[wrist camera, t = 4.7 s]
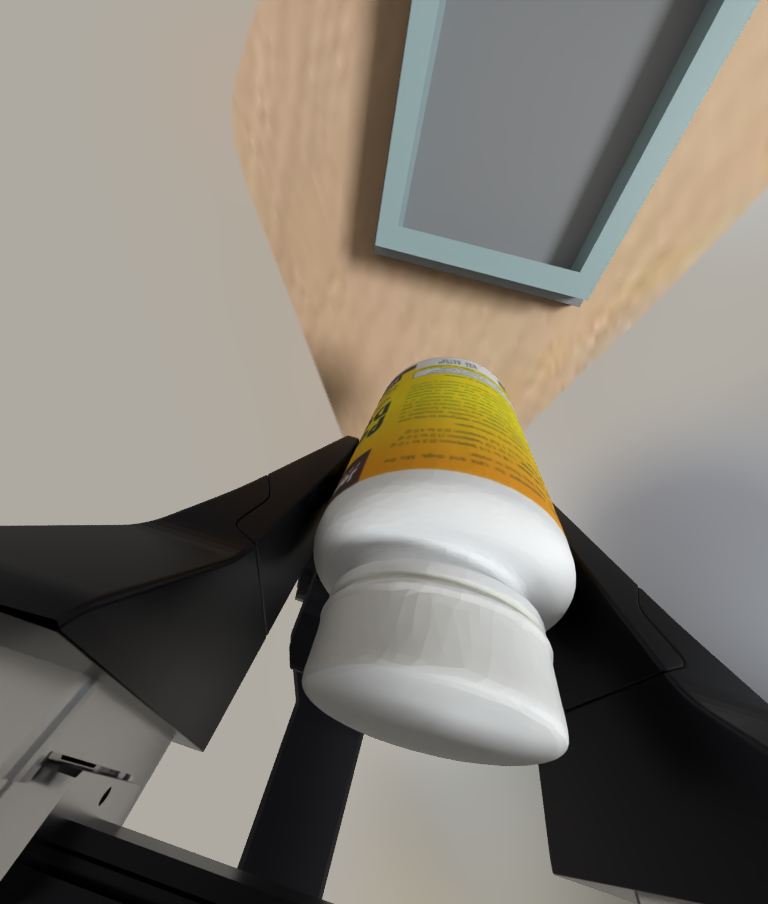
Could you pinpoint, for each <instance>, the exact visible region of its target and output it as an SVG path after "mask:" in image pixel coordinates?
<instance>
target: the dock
mask: <svg viewBox="0 0 768 904" xmlns="http://www.w3.org/2000/svg"><path fill="white" fill-rule="evenodd" d="M758 2H759V0H411V3H410V9H409V16H408V23H407V30H406V36H405V43H404V50H403V56H402V63H401V70H400V76H399V83H398V90H397V96H396V103H395V110H394V116H393V123H392V130H391V136H390V143H389V150H388V156H387V163H386V170H385V177H384V183H383V190H382V197H381V203H380V210H379V217H378V223H377V230H376V237H375V243H374V250H373V253H374V254H378V255H382V256H386V257H390V258H394V259H397V260H401V261H405V262H409V263H413V264H417V265H420V266H424V267H428V268H432V269H436V270H439V271H443V272H447V273H451V274H455V275H459V276H462V277H466V278H470V279H474V280H478V281H481V282H485V283H489V284H493V285H497V286H501V287H504V288H508V289H512V290H516V291H520V292H523V293H527V294H531V295H535V296H539V297H543V298H546V299H550V300H554V301H558V302H562V303H566V304H569V305H573V306H577V307H580V305H581V303H582V301H583V300H588V298H589V297H590V295H591V293H592V291H593V290H594V288H595V286H596V284H597V283H598V281H599V279H600V277H601V276H602V274H603V272H604V271H605V269H606V267H607V265H608V264H609V262H610V260H611V258H612V257H613V255H614V253H615V251H616V250H617V248H618V246H619V244H620V243H621V241H622V239H623V237H624V236H625V234H626V232H627V230H628V229H629V227H630V225H631V223H632V222H633V220H634V218H635V216H636V215H637V213H638V211H639V210H640V208H641V206H642V204H643V203H644V201H645V199H646V197H647V196H648V194H649V192H650V190H651V189H652V187H653V185H654V183H655V182H656V180H657V178H658V176H659V175H660V173H661V171H662V169H663V168H664V166H665V164H666V162H667V161H668V159H669V157H670V156H671V154H672V152H673V150H674V149H675V147H676V145H677V143H678V142H679V140H680V138H681V136H682V135H683V133H684V131H685V129H686V128H687V126H688V124H689V122H690V121H691V119H692V117H693V115H694V114H695V112H696V110H697V108H698V107H699V105H700V103H701V102H702V100H703V98H704V96H705V95H706V93H707V91H708V89H709V88H710V86H711V84H712V82H713V81H714V79H715V77H716V75H717V74H718V72H719V70H720V68H721V67H722V65H723V63H724V61H725V60H726V58H727V56H728V54H729V53H730V51H731V49H732V47H733V46H734V44H735V42H736V41H737V39H738V37H739V35H740V34H741V32H742V30H743V28H744V27H745V25H746V23H747V21H748V20H749V18H750V16H751V14H752V13H753V11H754V9H755V7H756V6H757V4H758Z"/></svg>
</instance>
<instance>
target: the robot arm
mask: <svg viewBox="0 0 768 904" xmlns="http://www.w3.org/2000/svg"><path fill="white" fill-rule="evenodd" d="M358 444H359V439H358V438H355V437H352V436H345V437H343V438H341V439H339V440H338V441H335V442H333V443H331V444H329V445H327V446H325V447H323V448H321V449H319V450H317V451H315V452H313V453H311V454H309V455H307V456H305V457H303V458H300V459H298V460H296V461H294V462H292V463H290V464H288V465H286V466H284V467H282V468H280V469H278V470H276V471H274V472H272V473H270V474H269V475H268V476H267V475H265V476H263V477H261V478H259V479H257V480H255V481H253V482H251V483H249V484H246V485H244V486H242V487H240V488H238V489H235V490H233V491H231V492H228V493H225V494H223V495H220V496H218V497H215V498H213V499H210V500H207V501H205V502H202V503H200V504H197V505H195V506H192V507H189V508H187V509H184V510H181V511H179V512H176V513H174V514H171V515H168V516H166V517H163V518H160V519H157V520H153V521H149V522H145V523H139V524H131V525H54V526H53V525H52V526H49V525H48V526H0V904H333V903H330V902H327V901H324V900H322V896H323V893H324V889H325V885H326V880H327V877H328V873H329V869H330V865H331V861H332V857H333V853H334V849H335V845H336V841H337V837H338V833H339V829H340V825H341V822H342V818H343V814H344V810H345V805H346V802H347V798H348V794H349V790H350V786H351V782H352V778H353V774H354V770H355V766H356V762H357V758H358V754H359V750H360V746H361V742H362V739H363V735H364V733H361V732H359V731H357V730H355V729H352V728H350V727H348V726H346V725H344V724H342V723H341V722H339V721H337V720H335V719H334V718H332V717H330V716H329V715H327V714H326V713H324V712H323V711H322V710H320V709H319V708H318V707H317V706H316V705H315V704H314V703H313V702H311V701H310V699H309V698H308V697H307V695H306V694H305V692H304V689H303V687H302V677H303V673H304V669H305V666H306V663H307V660H308V657H309V654H310V651H311V648H312V645H313V642H314V640H315V637H316V634H317V631H318V627H319V624H320V614H321V611H322V609H323V606H324V605H325V603H326V602H327V600H328V599H329V596H330V594H329V593H328V592H327V590H326V589H325V587H324V586H323V584H322V582H321V580H320V578H319V576H318V573H317V570H316V567H315V562H314V553H313V548H314V538H315V534H316V531H317V528H318V525H319V523H320V520H321V518H322V516H323V514H324V511H325V509H326V507H327V505H328V503H329V501H330V499H331V497H332V495H333V494H334V492H335V490H336V488H337V486H338V483H339V481H340V479H341V477H342V476H343V474H344V472H345V470H346V468H347V466H348V464H349V462H350V460H351V458H352V456H353V454H354V452H355V450H356V448H357V446H358ZM552 504H553V503H552ZM553 506H554V509H555V512H556V514H557V517H558V519H559V521H560V523H561V526H562V528H563V531H564V534H565V536H566V539H567V541H568V545H569V548H570V551H571V554H572V557H573V560H574V565H575V571H576V588H575V592H574V596H573V599H572V601H571V604H570V605H569V607H568V609H567V611H566V612H565V614H564V615H563V617H562V618H561V619H560V620H559V621H558V622H557V623H556V624H555V625H554V626H552V627H551V628H550V629H549V630H547V631H546V637H547V638H548V640H549V642H550V644H551V647H552V650H553V668H554V672H555V677H556V681H557V686H558V690H559V694H560V699H561V703H562V707H563V711H564V715H565V719H566V723H567V728H568V735H569V745H568V749H567V751H566V752H565V753H564V754H563V755H562V756H560V757H559V758H558V759H555V760H552V761H550V762H547V763H542V764H538V765H539V773H540V781H541V789H542V797H543V805H544V813H545V821H546V829H547V837H548V845H549V853H550V860H551V865H552V871H553V874H554V875H557V876H559V877H562V878H565V879H568V880H571V881H574V882H577V883H580V884H582V885H585V886H588V887H591V888H594V889H597V890H599V891H602V892H605V893H608V894H611V895H614V896H617V897H620V898H622V899H625V900H628V901H631V902H634V903H637V904H768V703H766V702H765V701H764V700H763V699H762V698H761V697H760V696H759V695H757V694H756V693H755V692H754V691H753V690H752V689H751V688H750V687H748V686H747V685H746V684H745V683H744V682H743V681H742V680H740V679H739V678H738V677H737V676H736V675H735V674H733V672H732V671H730V670H729V669H728V668H727V667H726V666H725V665H724V664H723V663H721V662H720V661H719V660H718V659H717V658H715V656H713V655H712V654H711V653H710V652H709V651H708V650H707V649H706V648H705V647H703V646H702V645H701V644H700V643H699V642H698V641H697V640H695V639H694V638H693V637H692V636H691V635H690V634H689V633H688V632H687V631H686V630H684V629H683V628H682V627H681V626H680V625H679V624H678V623H677V622H676V621H675V620H673V619H672V618H671V617H670V616H669V615H668V614H667V613H666V612H665V611H664V610H663V609H662V608H661V607H660V606H659V605H658V604H657V603H656V602H654V601H653V600H652V599H651V598H650V597H649V596H648V595H647V594H646V593H645V592H644V591H643V590H642V589H640V588H638V585H637V584H636V583H635V582H633V580H632V579H631V578H630V577H629V576H627V574H625V573H624V572H623V571H622V570H621V569H620V568H619V567H618V566H617V565H616V564H615V563H614V562H613V561H612V560H611V559H610V558H609V557H608V556H607V555H606V554H605V553H604V552H603V551H602V550H601V549H600V548H598V546H597V545H595V544H594V543H593V542H592V541H591V540H590V539H589V538H588V537H587V536H586V535H585V534H584V533H583V532H582V531H581V530H580V529H579V528H578V527H577V526H576V525H575V524H574V523H573V522H572V521H571V520H570V519H569V518H568V517H567V516H565V515H564V514H563V513H562V512H561V511H560V510H559V509H558V508H557V507H556V506H555V505H554V504H553ZM297 580H298V584H297V588H298V589H297V593H296V597H295V600H298V601H301V602H303V604H302V607H301V609H300V612H299V615H298V617H297V620H296V622H295V625H294V628H293V630H292V633H291V643H290V647H289V648H290V649H289V650H290V668H291V669H293V672H294V684H295V695H296V703H295V706H294V709H293V712H292V715H291V718H290V720H289V723H288V726H287V729H286V732H285V735H284V737H283V740H282V743H281V746H280V749H279V752H278V754H277V757H276V760H275V763H274V766H273V769H272V771H271V774H270V777H269V780H268V783H267V786H266V788H265V791H264V794H263V797H262V800H261V803H260V805H259V809H258V811H257V814H256V817H255V820H254V822H253V825H252V828H251V831H250V834H249V837H248V839H247V842H246V845H245V848H244V851H243V854H242V857H241V859H240V862H239V865H238V868H234V867H231V866H229V865H226V864H223V863H220V862H218V861H215V860H212V859H209V858H206V857H204V856H201V855H198V854H196V853H193V852H190V851H187V850H185V849H182V848H179V847H176V846H174V845H171V844H168V843H166V842H163V841H160V840H157V839H154V838H152V837H149V836H146V835H144V834H141V833H138V832H135V831H133V830H130V829H127V828H124V827H122V825H123V824H124V822H125V820H126V818H127V817H128V815H129V813H130V811H131V810H132V808H133V806H134V805H135V803H136V801H137V800H138V798H139V796H140V794H141V793H142V791H143V789H144V787H145V786H146V784H147V782H148V780H149V779H150V777H151V776H152V774H153V772H154V770H155V768H156V767H157V765H158V764H159V762H160V760H161V758H162V757H163V755H164V753H165V752H166V750H167V748H168V746H169V745H170V743H171V741H172V742H175V743H178V744H181V745H184V746H187V747H189V748H192V749H195V750H198V751H201V752H203V751H204V750H205V748H206V746H207V745H208V743H209V741H210V739H211V737H212V736H213V734H214V732H215V730H216V728H217V726H218V725H219V723H220V721H221V719H222V717H223V715H224V714H225V712H226V710H227V708H228V706H229V704H230V703H231V701H232V699H233V697H234V695H235V693H236V691H237V690H238V688H239V686H240V684H241V682H242V681H243V679H244V677H245V675H246V673H247V671H248V670H249V668H250V666H251V664H252V662H253V660H254V659H255V657H256V655H257V653H258V651H259V650H260V648H261V646H262V644H263V642H264V640H265V639H266V635H268V633H269V631H270V629H271V627H272V626H273V624H274V622H275V620H276V618H277V616H278V614H279V613H280V611H281V609H282V607H283V605H284V604H285V602H286V600H287V598H288V596H289V594H290V592H291V591H292V589H293V587H294V585H295V583H296V582H297Z"/></svg>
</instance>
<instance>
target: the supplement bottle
mask: <svg viewBox="0 0 768 904" xmlns="http://www.w3.org/2000/svg"><path fill="white" fill-rule="evenodd" d="M313 553H314V562H315V567H316V570H317V573H318V576H319V578H320V580H321V582H322V584H323V586H324V587H325V589H326V590H327V592H328V593H329V594H330V596H329V599H328V600H327V602H326V603H325V605H324V606H323V609H322V611H321V614H320V624H319V627H318V631H317V634H316V637H315V640H314V642H313V645H312V648H311V651H310V654H309V657H308V660H307V663H306V666H305V669H304V673H303V677H302V687H303V689H304V692H305V694H306V695H307V697H308V698H309V699H310V701H311V702H313V703H314V704H315V705H316V706H317V707H318V708H319V709H320V710H322V711H323V712H324V713H326V714H327V715H329V716H330V717H332V718H334V719H335V720H337V721H339V722H341V723H342V724H344V725H346V726H348V727H350V728H352V729H355V730H357V731H359V732H361V733H364V734H366V735H368V736H371V737H373V738H375V739H378V740H381V741H385V742H387V743H390V744H393V745H396V746H399V747H403V748H406V749H409V750H413V751H417V752H421V753H425V754H429V755H433V756H437V757H442V758H446V759H451V760H456V761H462V762H470V763H479V764H488V765H500V766H525V765H535V764H542V763H547V762H550V761H552V760H555V759H558V758H559V757H560V756H562V755H563V754H564V753H565V752H566V751H567V749H568V745H569V735H568V728H567V723H566V719H565V715H564V711H563V707H562V703H561V699H560V694H559V690H558V686H557V681H556V677H555V672H554V668H553V650H552V647H551V644H550V642H549V640H548V638H547V637H546V631H547V630H549V629H550V628H551V627H552V626H554V625H555V624H556V623H557V622H558V621H559V620H560V619H561V618H562V617H563V615H564V614H565V612H566V611H567V609H568V607H569V605H570V604H571V601H572V599H573V596H574V592H575V588H576V571H575V565H574V560H573V557H572V554H571V551H570V548H569V545H568V541H567V539H566V536H565V534H564V531H563V528H562V526H561V523H560V521H559V519H558V517H557V514H556V512H555V509H554V506H553V504H552V502H551V499H550V497H549V495H548V492H547V490H546V488H545V485H544V482H543V480H542V477H541V475H540V473H539V471H538V468H537V466H536V463H535V461H534V459H533V456H532V454H531V451H530V449H529V446H528V444H527V442H526V439H525V437H524V434H523V432H522V429H521V427H520V425H519V422H518V420H517V417H516V415H515V412H514V409H513V407H512V404H511V402H510V400H509V397H508V395H507V393H506V391H505V389H504V387H503V386H502V384H501V383H500V382H499V380H498V379H497V378H496V377H495V376H494V375H493V374H492V373H490V372H489V371H488V370H487V369H485V368H484V367H482V366H480V365H478V364H476V363H474V362H471V361H468V360H465V359H460V358H454V357H439V358H432V359H428V360H424V361H421V362H418V363H416V364H414V365H412V366H410V367H408V368H407V369H405V370H404V371H403V372H401V373H400V374H399V375H398V376H397V377H396V378H395V379H394V380H393V381H392V382H391V383H390V385H389V386H388V387H387V389H386V391H385V393H384V394H383V396H382V398H381V400H380V401H379V404H378V406H377V408H376V410H375V412H374V414H373V416H372V417H371V420H370V422H369V424H368V426H367V428H366V430H365V432H364V434H363V436H362V438H361V440H360V442H359V444H358V446H357V448H356V450H355V452H354V454H353V456H352V458H351V460H350V462H349V464H348V466H347V468H346V470H345V472H344V474H343V476H342V477H341V479H340V481H339V483H338V486H337V488H336V490H335V492H334V494H333V495H332V497H331V499H330V501H329V503H328V505H327V507H326V509H325V511H324V514H323V516H322V518H321V520H320V523H319V525H318V528H317V531H316V534H315V538H314V548H313Z"/></svg>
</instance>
